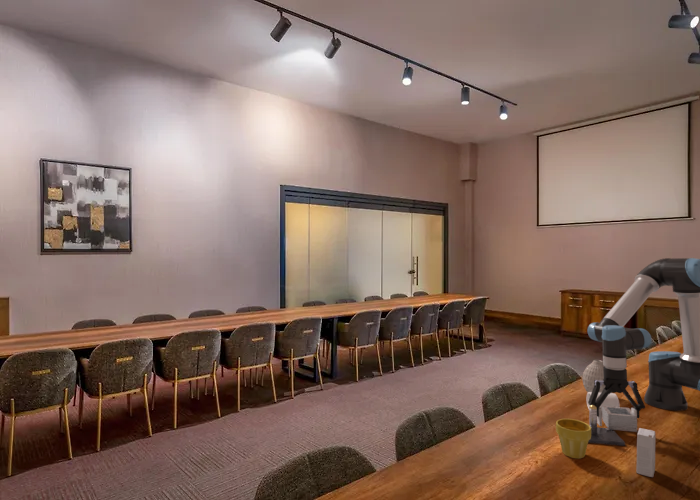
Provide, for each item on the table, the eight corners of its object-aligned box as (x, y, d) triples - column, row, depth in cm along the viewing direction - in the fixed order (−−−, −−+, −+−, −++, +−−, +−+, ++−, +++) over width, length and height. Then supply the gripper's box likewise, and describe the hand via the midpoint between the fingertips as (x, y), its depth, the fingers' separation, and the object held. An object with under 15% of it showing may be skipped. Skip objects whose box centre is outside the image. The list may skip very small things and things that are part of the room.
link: (629, 422, 160) (628, 407, 160) (636, 431, 152) (636, 416, 152) (602, 419, 163) (602, 405, 163) (608, 429, 155) (608, 414, 155)
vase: (584, 399, 190) (584, 362, 191) (580, 391, 202) (580, 356, 203) (617, 403, 186) (617, 365, 186) (611, 394, 198) (611, 358, 198)
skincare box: (638, 465, 131) (637, 426, 131) (656, 470, 128) (655, 430, 128) (636, 473, 126) (635, 433, 126) (654, 478, 123) (653, 437, 123)
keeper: (611, 431, 156) (611, 400, 156) (625, 445, 144) (624, 412, 144) (564, 427, 160) (564, 397, 160) (574, 441, 148) (573, 409, 148)
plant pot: (590, 464, 132) (590, 433, 132) (554, 456, 137) (554, 426, 137) (592, 451, 140) (591, 422, 141) (557, 444, 146) (557, 416, 146)
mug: (619, 416, 171) (619, 397, 171) (593, 414, 173) (592, 395, 173) (608, 406, 182) (607, 387, 183) (583, 404, 184) (582, 386, 185)
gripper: (645, 365, 158) (647, 423, 158) (577, 363, 164) (579, 419, 163) (655, 371, 151) (657, 431, 151) (583, 369, 156) (586, 427, 156)
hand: (616, 425), depth 157 cm, fingers open, 11 cm apart
